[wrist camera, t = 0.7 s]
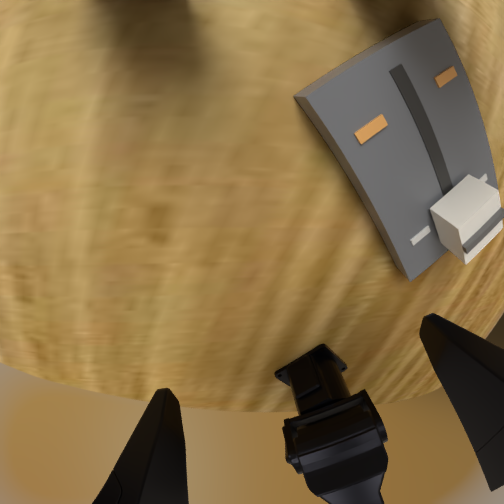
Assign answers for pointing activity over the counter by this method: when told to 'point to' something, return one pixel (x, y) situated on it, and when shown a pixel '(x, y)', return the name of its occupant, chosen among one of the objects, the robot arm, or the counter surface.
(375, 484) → the robot arm
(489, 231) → the fader tab
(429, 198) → the fader console
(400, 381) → the counter surface
